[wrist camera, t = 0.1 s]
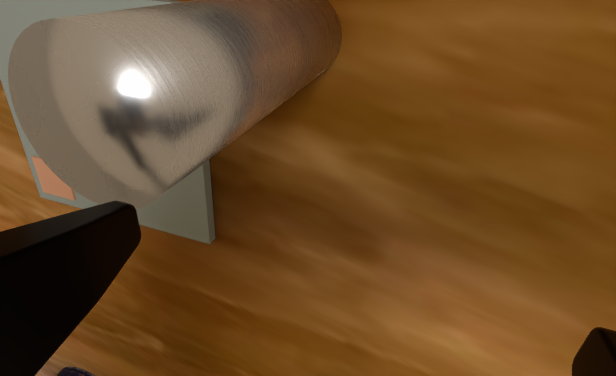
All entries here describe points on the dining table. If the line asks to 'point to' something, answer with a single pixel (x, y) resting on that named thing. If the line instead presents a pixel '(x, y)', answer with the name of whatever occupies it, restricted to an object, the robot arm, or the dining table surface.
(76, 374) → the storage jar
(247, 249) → the dining table surface
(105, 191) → the silver metal cylinder
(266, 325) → the dining table surface
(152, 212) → the socket board
